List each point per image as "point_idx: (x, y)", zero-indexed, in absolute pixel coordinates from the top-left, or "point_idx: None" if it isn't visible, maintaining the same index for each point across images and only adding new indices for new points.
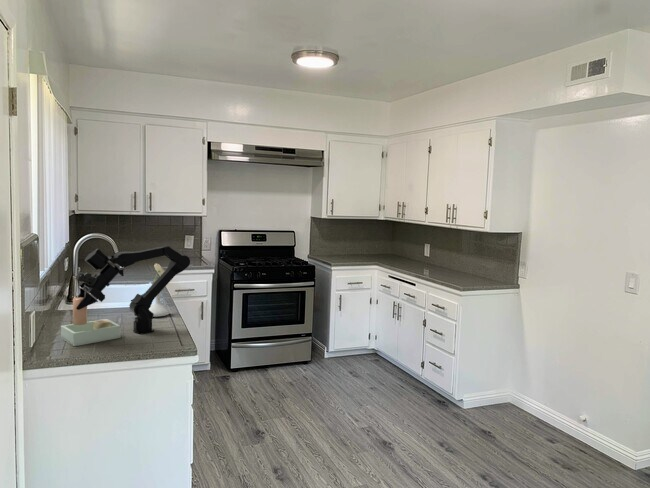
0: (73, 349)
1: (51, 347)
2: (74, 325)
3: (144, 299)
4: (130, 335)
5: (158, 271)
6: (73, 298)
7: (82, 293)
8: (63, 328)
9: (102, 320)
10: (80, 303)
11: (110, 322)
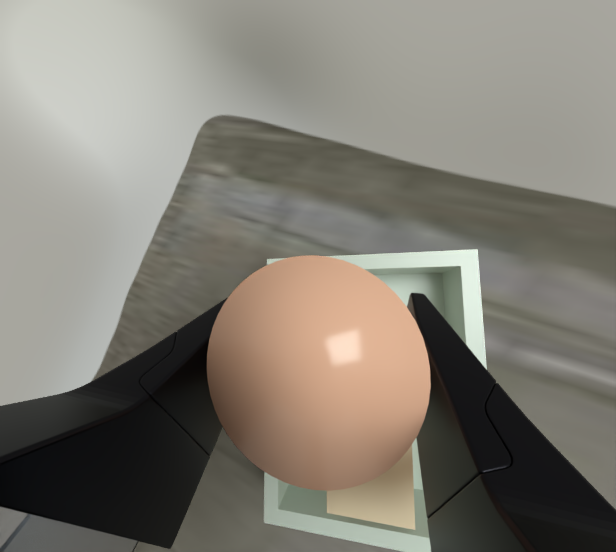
0: (251, 256)
1: (326, 197)
2: (462, 326)
3: None
4: (296, 531)
5: None
6: (362, 273)
7: (492, 549)
8: (423, 252)
9: (400, 494)
10: (204, 314)
11: (327, 507)
